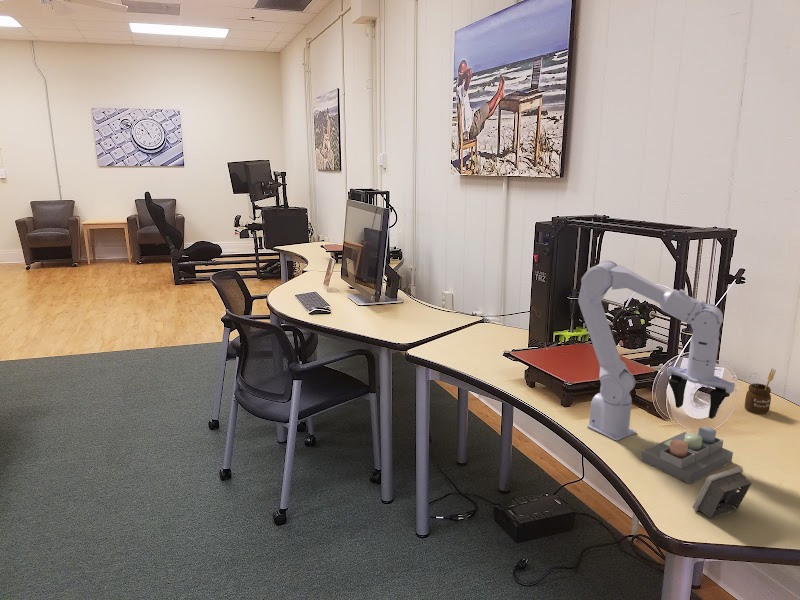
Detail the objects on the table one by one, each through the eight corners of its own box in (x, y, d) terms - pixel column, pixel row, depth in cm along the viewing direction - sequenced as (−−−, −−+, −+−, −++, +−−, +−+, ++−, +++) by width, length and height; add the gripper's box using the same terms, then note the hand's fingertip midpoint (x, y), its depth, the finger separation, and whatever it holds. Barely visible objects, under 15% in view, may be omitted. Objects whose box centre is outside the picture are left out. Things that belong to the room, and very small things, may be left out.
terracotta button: (665, 452, 133) (667, 442, 132) (675, 447, 134) (676, 438, 134) (680, 458, 130) (681, 449, 129) (690, 454, 132) (691, 444, 131)
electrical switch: (723, 499, 122) (733, 461, 119) (745, 514, 118) (756, 475, 115) (690, 510, 119) (699, 471, 116) (712, 527, 114) (722, 487, 111)
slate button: (694, 438, 138) (695, 429, 138) (703, 434, 140) (704, 425, 140) (709, 444, 136) (710, 435, 135) (718, 440, 137) (719, 431, 137)
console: (641, 460, 137) (643, 443, 136) (683, 441, 146) (685, 424, 145) (689, 484, 128) (691, 465, 126) (731, 461, 136) (734, 444, 135)
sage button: (680, 445, 136) (681, 435, 135) (689, 441, 137) (690, 431, 137) (695, 451, 133) (696, 442, 132) (704, 447, 134) (705, 437, 134)
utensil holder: (739, 406, 165) (745, 366, 162) (760, 405, 166) (766, 365, 163) (752, 415, 160) (759, 374, 157) (775, 414, 160) (781, 373, 157)
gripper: (663, 353, 138) (657, 406, 142) (728, 370, 128) (720, 427, 131) (677, 346, 143) (671, 398, 146) (741, 362, 132) (733, 418, 135)
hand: (695, 411), depth 139 cm, fingers open, 7 cm apart
